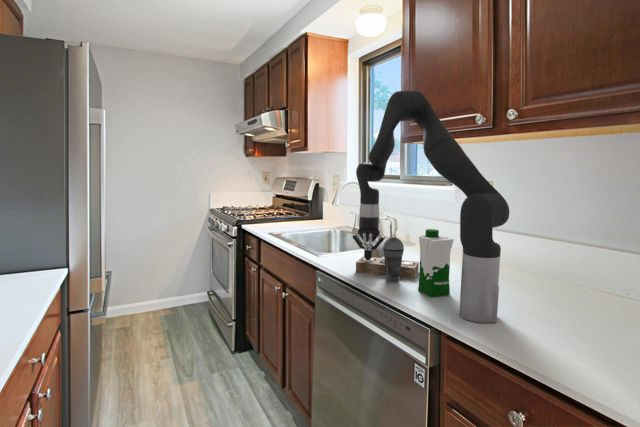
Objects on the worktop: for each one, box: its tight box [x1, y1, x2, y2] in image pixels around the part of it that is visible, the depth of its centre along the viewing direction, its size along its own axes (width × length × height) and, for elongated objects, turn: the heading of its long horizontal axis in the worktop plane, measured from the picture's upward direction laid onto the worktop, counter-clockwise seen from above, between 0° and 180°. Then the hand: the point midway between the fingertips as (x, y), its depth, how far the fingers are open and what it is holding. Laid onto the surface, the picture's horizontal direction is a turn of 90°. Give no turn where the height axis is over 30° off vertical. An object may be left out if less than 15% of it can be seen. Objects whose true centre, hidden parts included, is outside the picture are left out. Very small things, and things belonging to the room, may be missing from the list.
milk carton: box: [417, 228, 454, 298], centre depth 122 cm, size 9×9×20 cm
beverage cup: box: [383, 224, 405, 284], centre depth 134 cm, size 7×7×20 cm
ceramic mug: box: [372, 241, 385, 258], centre depth 163 cm, size 11×8×8 cm
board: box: [355, 255, 420, 280], centre depth 147 cm, size 22×10×4 cm, turn 68°
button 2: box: [401, 262, 413, 266], centre depth 144 cm, size 4×4×3 cm
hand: (368, 259), depth 149 cm, fingers closed
